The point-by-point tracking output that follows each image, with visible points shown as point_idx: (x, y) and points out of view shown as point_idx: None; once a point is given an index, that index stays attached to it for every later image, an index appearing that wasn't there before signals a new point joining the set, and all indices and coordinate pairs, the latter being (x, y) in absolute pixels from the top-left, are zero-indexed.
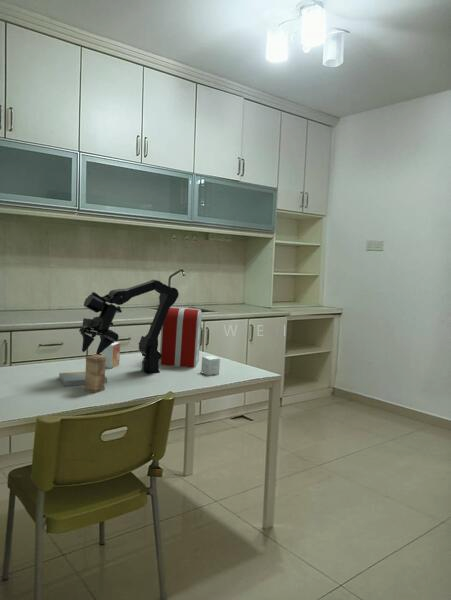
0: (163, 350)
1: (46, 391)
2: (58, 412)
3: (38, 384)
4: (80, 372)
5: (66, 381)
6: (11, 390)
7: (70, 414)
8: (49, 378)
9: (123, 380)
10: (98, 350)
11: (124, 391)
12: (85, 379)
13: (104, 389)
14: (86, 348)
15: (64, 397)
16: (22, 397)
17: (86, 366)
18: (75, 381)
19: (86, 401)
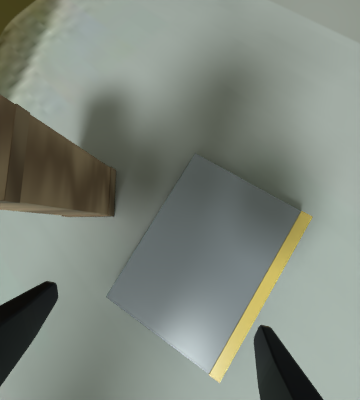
0: None
1: (199, 88)
2: (52, 15)
3: (281, 115)
4: (251, 287)
5: (193, 156)
6: (286, 26)
7: (22, 25)
8: (320, 188)
9: (84, 360)
10: (9, 303)
11: (10, 247)
12: (93, 157)
13: (68, 216)
14: (262, 391)
15: (117, 88)
16: (205, 15)
17: (49, 130)
18: (175, 185)
19: (47, 106)
